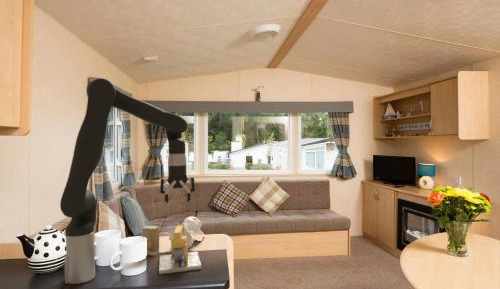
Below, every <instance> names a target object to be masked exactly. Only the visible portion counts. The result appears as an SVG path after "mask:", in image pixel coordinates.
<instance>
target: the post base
mask: <svg viewBox="0 0 500 289" xmlns="http://www.w3.org/2000/svg"><path fill="white" fill-rule="evenodd" d="M170 249H171V252H170V254H162V255H159V263H158V264H159V265H158V268H159V269H158V275H164V274H172V273H180V272H181V273H182V272H187V271H188V272H189V271H197V270H201V269H202V262H201V260H200V256H199V253H198V251H189V249H188V244H184V247H182V248H173V247H170Z"/></svg>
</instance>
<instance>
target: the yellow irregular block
mask: <svg viewBox="0 0 500 289" xmlns="http://www.w3.org/2000/svg"><path fill="white" fill-rule="evenodd" d="M175 228H176V229H175ZM175 228H174V229H175V231H174V237H172V238H171V240H170V246H171V247H173V248H182V247H184V244H187V237H186V236H183V234H184V224H183V223H179V224H177V225H176V227H175ZM171 247H170V248H171Z"/></svg>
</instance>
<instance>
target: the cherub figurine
mask: <svg viewBox="0 0 500 289" xmlns="http://www.w3.org/2000/svg"><path fill="white" fill-rule="evenodd" d="M182 224H184V234H183V236H186V237H187V244H188V247H189V248H191V247H192V246H193V244H194V239H193V240H192V236H197V235H205V233H204V232H203V231H202V230H201V227H202V222H201V220H200V219H199V218H197V217H196V216H188V217H186V218H185V219H184V220H183V222H182ZM175 229H176V227H175V228H173V229H172V230H171V231H170V235H169V237H168V240H170V241H171V238H172V237H174V231H175Z"/></svg>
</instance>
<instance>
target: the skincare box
mask: <svg viewBox="0 0 500 289" xmlns="http://www.w3.org/2000/svg"><path fill="white" fill-rule="evenodd" d="M143 237H146V238H147V255H146V256H157V255H158V254H159V253H160V226H158V225H145V226H144V227H142V238H143Z"/></svg>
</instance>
